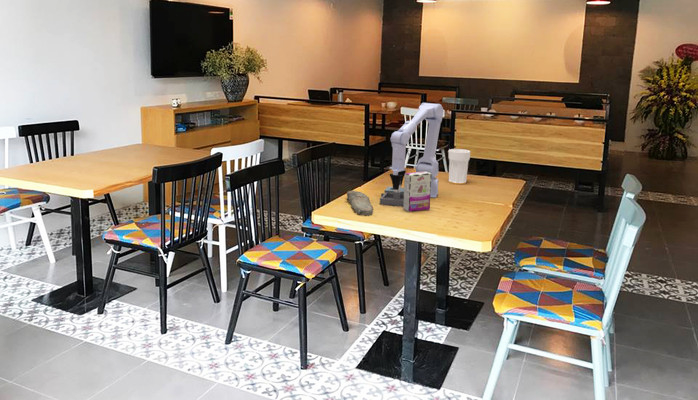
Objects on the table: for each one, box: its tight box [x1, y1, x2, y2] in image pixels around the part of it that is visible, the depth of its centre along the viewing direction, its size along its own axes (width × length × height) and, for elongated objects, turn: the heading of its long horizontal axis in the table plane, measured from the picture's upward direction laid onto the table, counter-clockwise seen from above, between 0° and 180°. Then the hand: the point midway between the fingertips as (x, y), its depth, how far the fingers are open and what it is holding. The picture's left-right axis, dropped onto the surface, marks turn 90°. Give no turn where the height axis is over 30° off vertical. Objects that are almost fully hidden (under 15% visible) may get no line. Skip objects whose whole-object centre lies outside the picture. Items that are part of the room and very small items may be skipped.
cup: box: [447, 148, 471, 186], centre depth 317 cm, size 11×11×17 cm
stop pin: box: [393, 181, 402, 200], centre depth 271 cm, size 3×3×9 cm
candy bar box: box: [402, 171, 431, 213], centre depth 259 cm, size 11×5×16 cm, turn 117°
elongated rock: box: [346, 190, 374, 217], centre depth 265 cm, size 35×5×10 cm
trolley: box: [380, 186, 404, 198], centre depth 284 cm, size 14×9×7 cm
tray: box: [379, 192, 404, 208], centre depth 272 cm, size 13×13×3 cm
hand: (397, 187), depth 271 cm, fingers open, 7 cm apart
